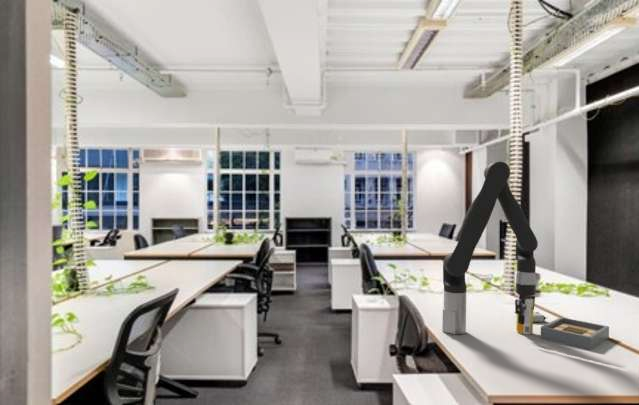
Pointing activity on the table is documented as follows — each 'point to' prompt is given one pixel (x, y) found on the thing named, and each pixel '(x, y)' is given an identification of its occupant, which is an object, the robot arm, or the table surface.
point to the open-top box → (573, 338)
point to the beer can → (526, 318)
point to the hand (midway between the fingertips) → (524, 322)
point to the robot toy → (538, 317)
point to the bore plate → (575, 329)
